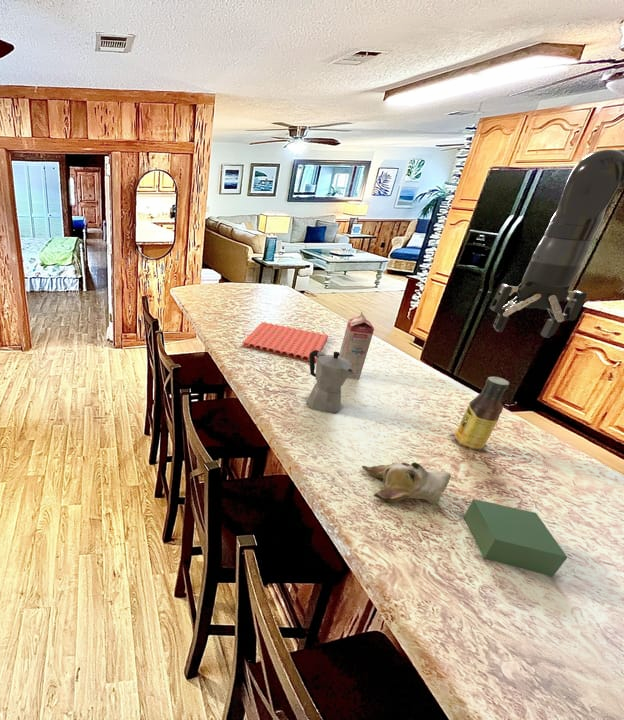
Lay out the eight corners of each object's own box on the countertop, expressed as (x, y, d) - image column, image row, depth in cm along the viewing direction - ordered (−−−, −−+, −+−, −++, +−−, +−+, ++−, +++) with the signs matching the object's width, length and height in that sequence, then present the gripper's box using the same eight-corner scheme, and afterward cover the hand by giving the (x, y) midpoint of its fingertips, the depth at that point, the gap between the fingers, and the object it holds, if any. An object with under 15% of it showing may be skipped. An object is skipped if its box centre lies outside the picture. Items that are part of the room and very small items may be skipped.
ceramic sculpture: (466, 485, 75) (380, 476, 78) (453, 518, 78) (371, 507, 82) (441, 451, 84) (366, 444, 88) (430, 482, 88) (358, 474, 91)
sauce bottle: (455, 435, 104) (485, 370, 95) (484, 447, 100) (518, 380, 91) (448, 445, 100) (479, 378, 92) (478, 457, 96) (513, 389, 87)
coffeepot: (352, 414, 113) (369, 358, 105) (328, 421, 109) (344, 364, 101) (312, 389, 125) (324, 338, 117) (290, 394, 122) (301, 342, 114)
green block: (522, 534, 76) (536, 512, 73) (550, 580, 67) (567, 557, 64) (461, 520, 78) (473, 498, 76) (481, 562, 70) (495, 539, 67)
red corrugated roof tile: (315, 363, 142) (316, 358, 141) (241, 346, 155) (242, 341, 154) (327, 339, 164) (328, 334, 163) (261, 325, 177) (262, 321, 176)
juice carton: (338, 376, 133) (354, 316, 124) (335, 368, 139) (351, 310, 130) (359, 379, 132) (377, 318, 122) (355, 371, 137) (372, 312, 128)
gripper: (522, 261, 78) (489, 335, 85) (614, 267, 74) (571, 344, 81) (505, 254, 84) (476, 323, 92) (589, 260, 80) (551, 332, 87)
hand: (521, 333), depth 86 cm, fingers open, 8 cm apart
